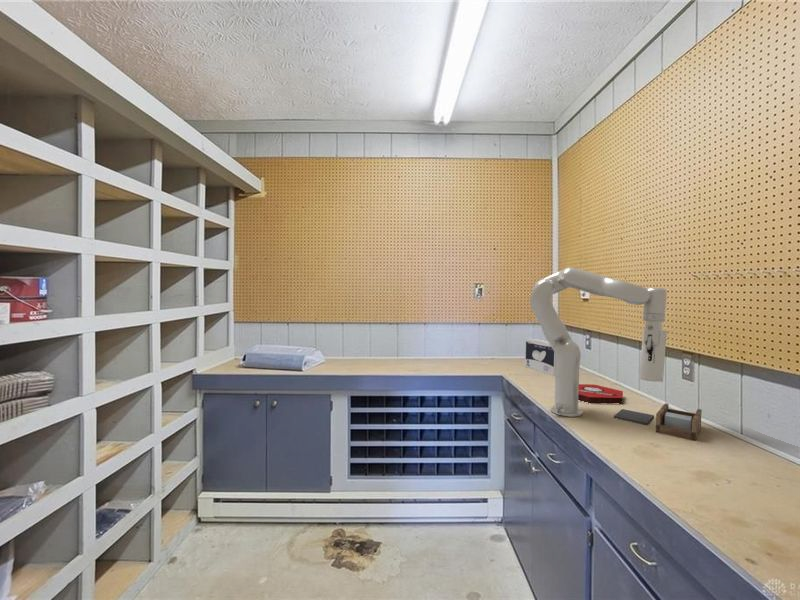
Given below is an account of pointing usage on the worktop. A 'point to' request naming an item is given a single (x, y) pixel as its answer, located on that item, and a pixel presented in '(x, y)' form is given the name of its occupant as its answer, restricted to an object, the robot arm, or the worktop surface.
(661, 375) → the paper towel roll
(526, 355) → the packaging
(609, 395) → the plaque
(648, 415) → the mat
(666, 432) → the rack
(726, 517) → the worktop surface
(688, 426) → the offcut block
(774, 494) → the worktop surface
